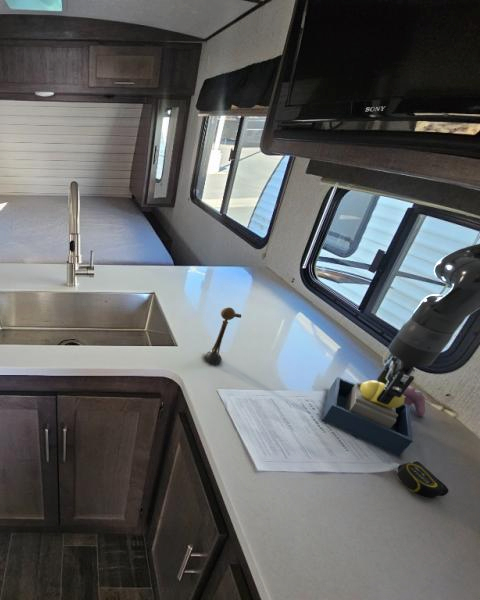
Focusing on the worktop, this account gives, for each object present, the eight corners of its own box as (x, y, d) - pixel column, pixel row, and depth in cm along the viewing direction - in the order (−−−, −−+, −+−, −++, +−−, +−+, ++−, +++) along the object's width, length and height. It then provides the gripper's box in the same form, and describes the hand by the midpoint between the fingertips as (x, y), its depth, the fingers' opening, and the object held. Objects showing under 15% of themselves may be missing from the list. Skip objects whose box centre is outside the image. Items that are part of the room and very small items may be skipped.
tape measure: (443, 499, 68) (455, 489, 66) (416, 503, 67) (427, 493, 65) (411, 468, 74) (420, 458, 72) (385, 471, 73) (394, 461, 71)
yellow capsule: (398, 399, 80) (410, 388, 76) (396, 416, 77) (408, 405, 74) (358, 383, 84) (367, 372, 81) (354, 398, 82) (364, 387, 78)
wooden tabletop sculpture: (223, 358, 104) (242, 306, 94) (224, 367, 100) (244, 314, 90) (204, 354, 105) (220, 302, 95) (204, 363, 102) (221, 310, 91)
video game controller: (414, 412, 90) (423, 389, 89) (425, 418, 86) (434, 394, 85) (371, 399, 93) (379, 377, 92) (379, 405, 89) (388, 381, 88)
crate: (397, 420, 85) (409, 405, 82) (399, 456, 76) (413, 441, 73) (328, 390, 94) (337, 376, 91) (322, 420, 84) (332, 405, 81)
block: (379, 417, 86) (396, 394, 82) (378, 442, 79) (398, 419, 75) (343, 401, 90) (358, 379, 86) (340, 423, 84) (356, 401, 79)
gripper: (447, 364, 64) (402, 418, 72) (439, 332, 74) (400, 383, 82) (399, 348, 68) (361, 400, 76) (397, 320, 78) (364, 369, 86)
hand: (381, 391), depth 79 cm, fingers open, 8 cm apart
